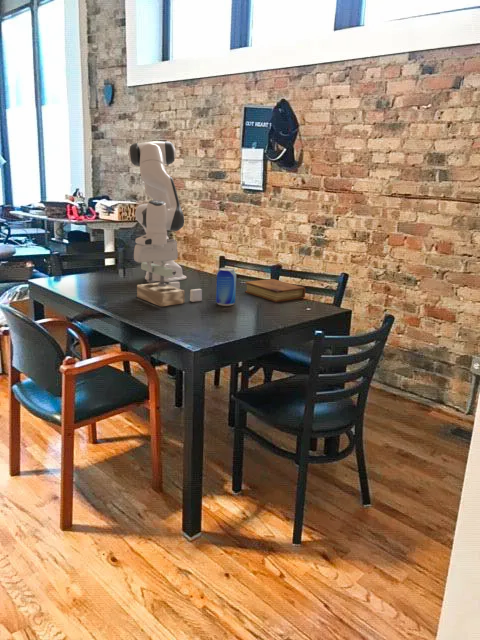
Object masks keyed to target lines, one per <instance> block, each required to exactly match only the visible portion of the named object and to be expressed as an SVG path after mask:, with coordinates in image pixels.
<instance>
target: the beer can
mask: <svg viewBox="0 0 480 640" xmlns="http://www.w3.org/2000/svg"><path fill="white" fill-rule="evenodd" d="M218 270H219V271H218ZM218 270H217V271H218V272H217V274H216V290H215V291H216V292H215V303H216V304H217V305H219V306H225V307H228V306H229V307H230V306H233V305H235V303H236V292H237V291H236V290H237V272H235V268H232V267H220V268H219V269H218Z"/></svg>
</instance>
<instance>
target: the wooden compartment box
mask: <svg viewBox="0 0 480 640" xmlns="http://www.w3.org/2000/svg"><path fill="white" fill-rule="evenodd" d="M158 283H160V281H158V282H154V283H141V284H136V293H137V294H136V297H137V298H138V299H141V300H144V301H146V302H149V303H151V304H154V305H156V306H159V307H166V306H173V305H174V306H175V305H179V304H185V295H186V294H185V290H184V289H181V288H180V289H178V288H175V287H172V286H169V284H166V286H165V287H159V286H158Z"/></svg>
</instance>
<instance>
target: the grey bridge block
mask: <svg viewBox="0 0 480 640" xmlns="http://www.w3.org/2000/svg"><path fill="white" fill-rule="evenodd" d="M140 263H141V265H140V268H141V270H143V271H146V272H147V271H148V272H149V267H148V265H147V262H140ZM151 266H152V267H153V268H154V272H149V279H147V280H146V283H147V284H150V283H156V281H155V280H154V279H152V276H153V273H155V274H158V275H160V281H159V282H160V283H159V282H157V283H158V286H159V287H165V286H166V285H167V282H164V277H170V276H172V274H173V269H170V268H167V267H163V266H160V265H156V264H153V263H152V264H151Z"/></svg>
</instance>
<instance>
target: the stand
mask: <svg viewBox="0 0 480 640" xmlns="http://www.w3.org/2000/svg"><path fill="white" fill-rule="evenodd" d="M180 284H181V282H180V281H171V282H168V285H169V286H172V287H175V288H178V289H181V288H180V287H181V285H180ZM189 292H190V293H189V301H190V302H193V303H194V302H200V301H203V289H201V288H195V289H190V291H189Z"/></svg>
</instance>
